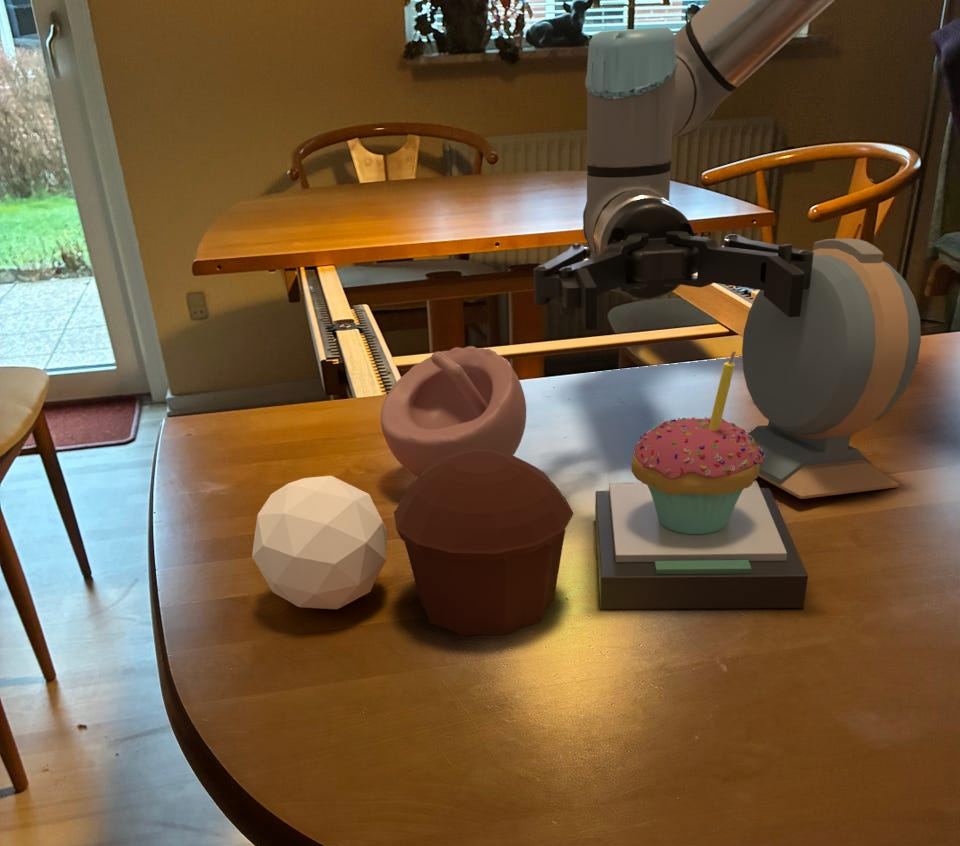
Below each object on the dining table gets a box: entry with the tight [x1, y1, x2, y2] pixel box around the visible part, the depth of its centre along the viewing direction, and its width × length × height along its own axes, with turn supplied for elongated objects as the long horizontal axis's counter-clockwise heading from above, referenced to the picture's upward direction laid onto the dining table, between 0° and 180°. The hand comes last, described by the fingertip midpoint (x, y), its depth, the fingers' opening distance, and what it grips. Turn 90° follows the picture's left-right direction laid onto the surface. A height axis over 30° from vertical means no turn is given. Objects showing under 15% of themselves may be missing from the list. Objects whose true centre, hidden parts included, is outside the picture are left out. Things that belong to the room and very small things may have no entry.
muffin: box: [393, 450, 575, 637], centre depth 63 cm, size 12×11×10 cm
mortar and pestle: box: [380, 345, 527, 478], centre depth 81 cm, size 12×12×12 cm
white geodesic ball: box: [251, 475, 388, 610], centre depth 66 cm, size 9×9×12 cm
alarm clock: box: [741, 238, 922, 500], centre depth 77 cm, size 14×10×18 cm
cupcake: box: [630, 350, 765, 534], centre depth 65 cm, size 9×8×12 cm
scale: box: [594, 480, 809, 610], centre depth 69 cm, size 13×14×3 cm
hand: (694, 302), depth 65 cm, fingers open, 13 cm apart
